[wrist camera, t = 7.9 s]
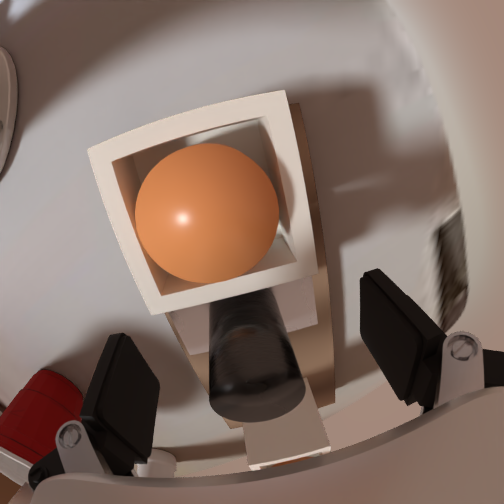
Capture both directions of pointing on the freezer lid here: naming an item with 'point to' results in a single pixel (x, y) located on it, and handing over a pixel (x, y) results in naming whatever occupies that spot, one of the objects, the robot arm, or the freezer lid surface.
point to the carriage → (251, 348)
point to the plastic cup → (36, 422)
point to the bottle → (158, 465)
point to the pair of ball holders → (259, 277)
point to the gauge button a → (207, 213)
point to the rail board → (320, 335)
